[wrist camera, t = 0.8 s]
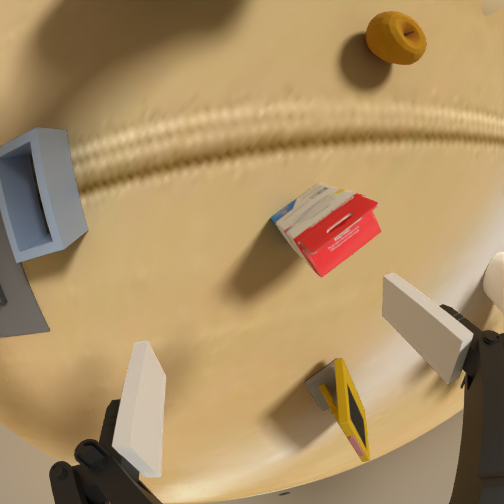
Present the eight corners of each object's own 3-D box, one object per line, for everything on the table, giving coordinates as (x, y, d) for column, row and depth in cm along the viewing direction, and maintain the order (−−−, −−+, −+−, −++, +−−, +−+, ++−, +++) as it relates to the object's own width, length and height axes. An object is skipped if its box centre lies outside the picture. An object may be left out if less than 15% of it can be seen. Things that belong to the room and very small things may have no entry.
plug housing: (22, 149, 28) (-11, 152, 21) (66, 130, 29) (36, 127, 22) (44, 243, 33) (16, 263, 26) (88, 230, 34) (64, 249, 27)
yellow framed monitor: (358, 399, 55) (389, 450, 40) (327, 416, 55) (353, 470, 40) (334, 345, 48) (375, 408, 33) (295, 367, 48) (325, 435, 33)
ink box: (288, 245, 40) (332, 293, 26) (268, 216, 38) (307, 254, 24) (336, 209, 39) (399, 240, 26) (319, 180, 38) (381, 198, 24)
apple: (370, 76, 33) (406, 65, 25) (343, 27, 30) (374, 6, 22) (407, 65, 33) (444, 55, 25) (383, 20, 30) (416, 3, 22)
